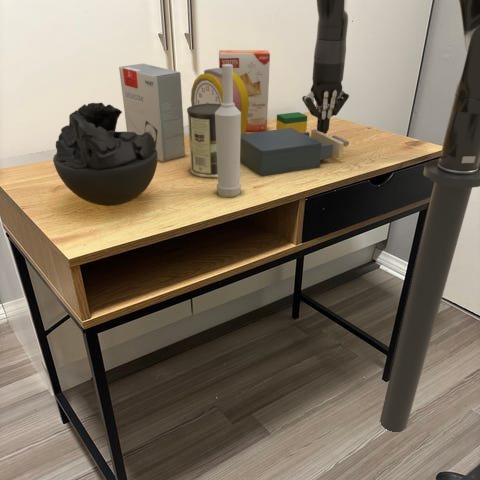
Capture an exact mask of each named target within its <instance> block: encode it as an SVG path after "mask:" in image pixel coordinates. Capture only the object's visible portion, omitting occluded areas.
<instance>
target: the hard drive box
mask: <svg viewBox="0 0 480 480" xmlns="http://www.w3.org/2000/svg"><path fill="white" fill-rule="evenodd" d="M118 69H119V75H120V76H119V78H120V84H121V85H120V86H121V93H122V94H121V95H122V101H123V109H124V110H123V111H124V119H125V127H126V132H135V133H136V134H138V135H142V134H144V133H145V132H149V133H150V134H151V135H152V137H153V138H154V144H155V149H156V150H157V153H158V159H157V161H160V162H162V163H164V162H168V161H171V160H175V159H178V158H182V157H185V156H186V145H185V143H186V142H185V130H184V129H185V127H184V126H185V125H184V111H183V94H182V93H183V91H182V75H181V72H180V71H178V70H173V69H168V68H164V67H160V66H157V65H156V66H155V65H151V64H147V63H137V64H131V65H121V66H119V67H118Z"/></svg>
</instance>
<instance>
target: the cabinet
mask: <svg viewBox="0 0 480 480" xmlns="http://www.w3.org/2000/svg"><path fill="white" fill-rule="evenodd" d="M321 146H322V143H321V142H319V141H317V140H315V139H313V138H311V136H310V135H309V136H307V135H305V134H303V133H301V132H299V131H297V130H295V129H293V128H286V129H278V130H276V129H271V130H267V131H253V132H245V134H241V137H240V163H242V164H244V165H245V166H246V167H248V168H249V169H251V170H252V171H254V172H255V173H257V174H258V175H259V176H261V177H265V176H271V175H277V174H285V173H291V172H297V171H304V170H309V169H315V168H320V166H321V160H320V158H321Z"/></svg>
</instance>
